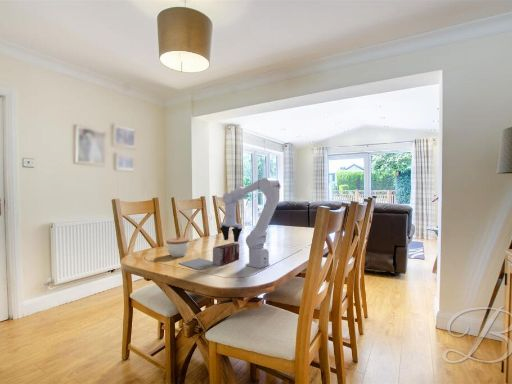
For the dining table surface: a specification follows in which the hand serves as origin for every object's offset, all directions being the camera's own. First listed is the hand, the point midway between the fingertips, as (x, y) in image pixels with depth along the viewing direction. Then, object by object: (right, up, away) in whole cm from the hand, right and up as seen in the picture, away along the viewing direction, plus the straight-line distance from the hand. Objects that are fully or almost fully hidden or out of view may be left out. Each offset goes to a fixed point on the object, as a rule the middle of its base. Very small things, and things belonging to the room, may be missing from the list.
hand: (231, 240), depth 143 cm
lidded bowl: (-32, -11, +12) cm, 36 cm away
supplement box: (-7, -6, -10) cm, 13 cm away
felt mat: (-16, -11, -6) cm, 20 cm away
